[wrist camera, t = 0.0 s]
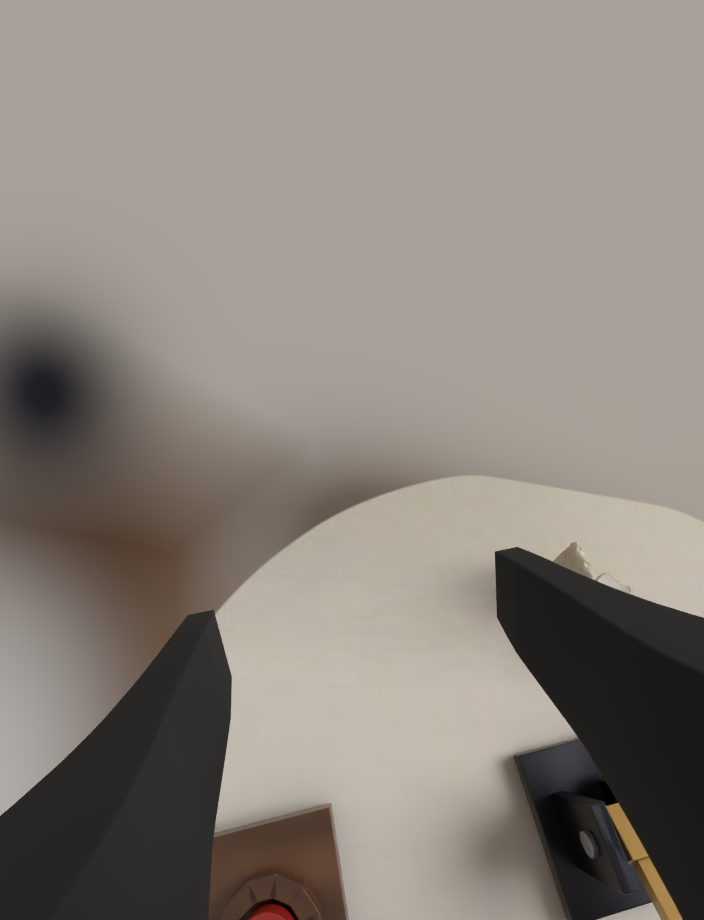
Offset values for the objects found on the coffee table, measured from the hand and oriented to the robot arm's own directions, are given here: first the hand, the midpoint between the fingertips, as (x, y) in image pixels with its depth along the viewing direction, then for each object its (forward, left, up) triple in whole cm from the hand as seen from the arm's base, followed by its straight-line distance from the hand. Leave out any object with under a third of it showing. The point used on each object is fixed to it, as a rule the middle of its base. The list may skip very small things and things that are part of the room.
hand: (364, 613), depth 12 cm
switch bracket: (-12, -16, -32) cm, 38 cm away
